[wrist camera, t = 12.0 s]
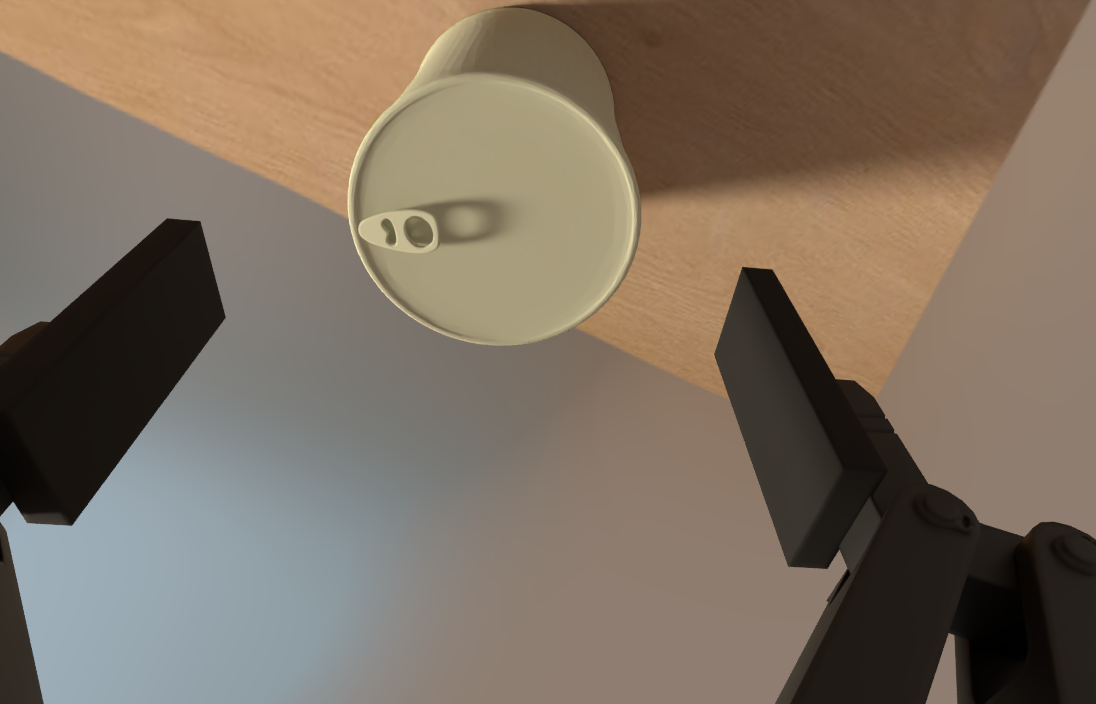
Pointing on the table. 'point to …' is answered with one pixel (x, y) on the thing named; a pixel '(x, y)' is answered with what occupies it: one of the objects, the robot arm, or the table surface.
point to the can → (498, 184)
